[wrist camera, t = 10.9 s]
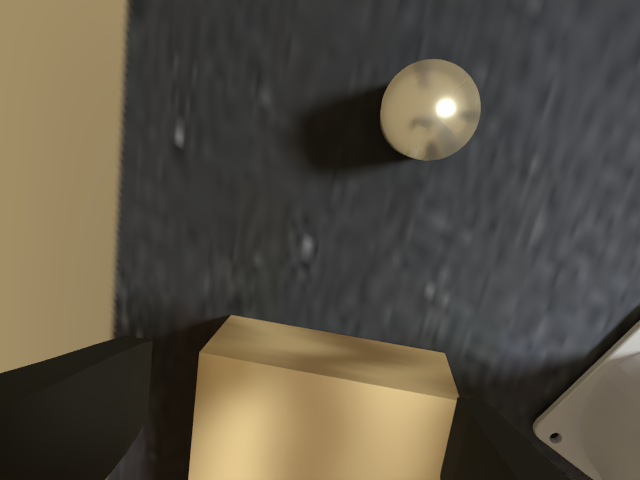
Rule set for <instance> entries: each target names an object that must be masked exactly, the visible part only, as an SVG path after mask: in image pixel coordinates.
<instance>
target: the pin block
mask: <svg viewBox="0 0 640 480" xmlns="http://www.w3.org/2000/svg"><path fill="white" fill-rule="evenodd" d="M457 397H459V395H458V392H457V389H456V386H455V382H454V379H453V376H452V373H451V370H450V367H449V364H448V361H447V358H446V355H445V353H441V352H436V351H430V350H424V349H419V348H413V347H408V346H402V345H396V344H391V343H385V342H380V341H374V340H368V339H363V338H357V337H352V336H346V335H340V334H335V333H329V332H324V331H318V330H312V329H307V328H301V327H296V326H290V325H284V324H279V323H273V322H268V321H262V320H256V319H251V318H245V317H240V316H234V315H231V316H230V317H229V318H228V319H227V320H226V321H225V323H224V324H223V325H222V326H221V327H220V329H219V330H218V331H217V332H216V333H215V334H214V336H213V337H212V338H211V339H210V340H209V342H208V343H207V344H206V345H205V346H204V347H203V349H202V350H201V351H200V352H199V362H198V374H197V385H196V397H195V408H194V420H193V431H192V442H191V454H190V465H189V477H188V480H440V473H441V468H442V464H443V459H444V455H445V450H446V446H447V442H448V437H449V433H450V428H451V424H452V420H453V415H454V411H455V406H456V402H457Z"/></svg>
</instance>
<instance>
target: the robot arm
mask: <svg viewBox="0 0 640 480" xmlns="http://www.w3.org/2000/svg"><path fill="white" fill-rule="evenodd" d="M152 344H153V340H148V339H142V338H137V337H131V336H126V337H120V338H116V339H113V340H109V341H105V342H102V343H99V344H95V345H92V346H89V347H86V348H83V349H80V350H77V351H73V352H70V353H67V354H64V355H61V356H58V357H55V358H51V359H48V360H45V361H42V362H38V363H35V364H31V365H28V366H25V367H21V368H18V369H14V370H10V371H7V372H4V373H0V480H105V479H106V478H107V476H108V475H109V474H110V473H111V471H112V470H113V469H114V468H115V466H116V465H117V464H118V463H119V461H120V460H121V459H122V457H123V456H124V455H125V454H126V452H127V450H128V449H129V447H130V446H131V444H132V443H133V441H134V439H135V438H136V436H137V434H138V433H139V431H140V429H141V428H142V426H143V424H144V423H145V421H146V419H147V417H148V408H149V392H150V376H151V360H152ZM533 430H534V433H535V434H536V436H537V437H538V438H539V439H540V440H542V441H543V442H544V443H546V444H547V445H548V446H549V447H551V448H552V449H553V450H555V451H556V452H557V453H559V454H560V455H561V456H563V457H564V458H565V459H566V460H568V461H569V462H570V463H572V464H573V465H574V466H576V467H577V468H578V469H580V470H581V471H582V472H584V473H585V474H586V475H587V476H589V477H590V478H591V479H593V480H640V320H639V321H638V322H637V323H636V324H635V325H634V326H633V327H632V328H631V329H630V330H629V331H628V332H627V333H626V334H625V335H624V336H623V337H622V338H621V339H620V340H619V341H617V342H616V343H615V344H614V345H613V346H612V347H611V348H610V349H609V350H608V351H607V352H606V353H605V354H604V355H603V356H602V357H601V358H600V359H599V360H598V361H597V362H596V363H595V364H594V365H592V366H591V367H590V368H589V369H588V370H587V371H586V372H585V373H584V374H583V375H582V376H581V377H580V378H579V379H578V380H577V381H576V382H575V383H574V384H573V385H572V386H571V387H570V388H569V389H568V390H566V391H565V392H564V393H563V394H562V395H561V396H560V397H559V398H558V399H557V400H556V401H555V402H554V403H553V404H552V405H551V406H550V407H549V408H548V409H547V410H546V411H545V412H544V413H543V414H542V415H540V416H539V417H538V418H537V419H536V420H535V422H534V423H533ZM553 433H559V434H558V436H557V437H555V438H550V436H551V434H553ZM440 480H570V479H569V478H568V477H567V476H566V475H564V474H563V473H562V472H561V471H560V470H559V469H558V468H557V467H555V466H554V465H553V464H552V463H551V462H550V461H549V460H548V459H547V458H545V457H544V456H543V455H542V454H541V453H540V452H539V451H538V450H537V449H536V448H535V447H533V446H532V445H531V444H530V443H529V442H528V441H527V440H526V439H525V438H524V437H523V436H522V435H521V434H520V433H519V432H518V431H517V430H516V429H515V428H513V427H512V426H511V425H510V424H509V423H508V422H507V421H506V420H505V419H504V418H503V417H502V416H501V415H500V414H499V413H498V412H496V411H495V410H494V409H493V408H492V407H491V406H489V405H488V404H487V403H486V402H482V401H476V400H471V399H465V398H460V397H457V402H456V406H455V411H454V415H453V420H452V424H451V428H450V433H449V437H448V442H447V446H446V450H445V455H444V459H443V464H442V468H441V473H440Z"/></svg>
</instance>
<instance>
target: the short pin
mask: <svg viewBox="0 0 640 480" xmlns="http://www.w3.org/2000/svg"><path fill="white" fill-rule="evenodd" d="M480 111H481V103H480V96H479V93H478V90H477V87H476V85H475V83H474V82H473V80H472V78H471V77H470V76H469V75H468V74H467V73H466V72H465V71H464V70H463V69H462V68H460V67H459V66H457V65H455V64H453V63H451V62H448V61H445V60H439V59H429V60H423V61H418V62H416V63H413V64H411V65H409V66H407V67H406V68H404V69H403V70H402V71H400V72H399V73H398V74H397V75H396V76H395V77H394V78H393V80H392V81H391V82H390V84H389V85H388V87H387V89H386V91H385V93H384V96H383V99H382V104H381V110H380V127H381V131H382V134H383V136H384V138H385V140H386V141H387V143H388V144H389V145H390V146H391V147H392V148H393V149H394V150H396V151H397V152H399V153H401V154H403V155H406V156H408V157H411V158H414V159H418V160H427V161H429V160H438V159H442V158H445V157H448V156H450V155H452V154H454V153H455V152H457V151H458V150H460V149H461V148H462V147H463V146H464V145H465V144H466V143H467V142H468V141H469V139H470V138H471V137H472V135H473V133H474V132H475V130H476V127H477V125H478V122H479V118H480Z"/></svg>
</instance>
